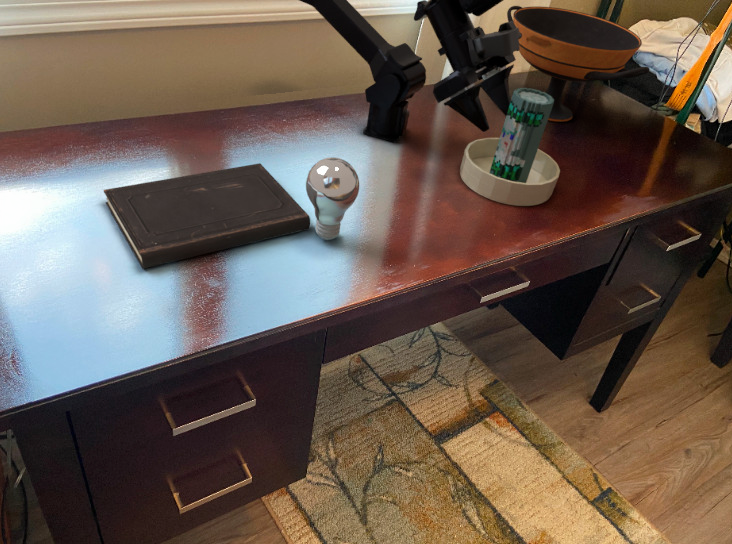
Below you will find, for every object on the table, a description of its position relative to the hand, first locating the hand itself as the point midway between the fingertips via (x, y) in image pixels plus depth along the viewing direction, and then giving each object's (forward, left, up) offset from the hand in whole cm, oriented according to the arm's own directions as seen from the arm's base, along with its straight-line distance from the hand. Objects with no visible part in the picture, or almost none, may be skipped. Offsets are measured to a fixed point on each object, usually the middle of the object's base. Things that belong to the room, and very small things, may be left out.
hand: (498, 122), depth 99 cm
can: (+4, -1, -9) cm, 10 cm away
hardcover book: (-32, -36, -10) cm, 49 cm away
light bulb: (-16, -32, -10) cm, 37 cm away
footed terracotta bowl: (+7, +37, -10) cm, 39 cm away
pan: (+4, 0, -9) cm, 10 cm away
